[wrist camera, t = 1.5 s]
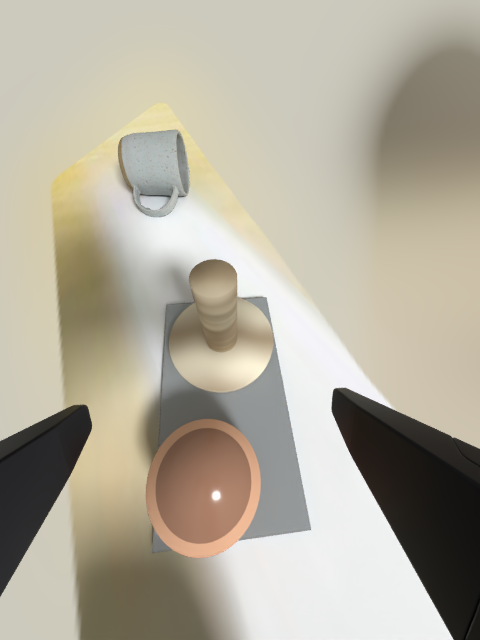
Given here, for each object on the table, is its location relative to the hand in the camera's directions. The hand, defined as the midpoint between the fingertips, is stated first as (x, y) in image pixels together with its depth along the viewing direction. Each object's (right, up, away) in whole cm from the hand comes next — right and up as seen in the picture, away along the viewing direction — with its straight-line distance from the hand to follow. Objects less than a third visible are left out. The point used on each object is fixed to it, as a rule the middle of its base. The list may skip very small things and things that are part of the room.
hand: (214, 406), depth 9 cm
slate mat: (-1, -4, +13) cm, 13 cm away
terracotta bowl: (-1, -9, +9) cm, 13 cm away
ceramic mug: (-11, +22, +27) cm, 37 cm away
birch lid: (-1, +1, +15) cm, 15 cm away
